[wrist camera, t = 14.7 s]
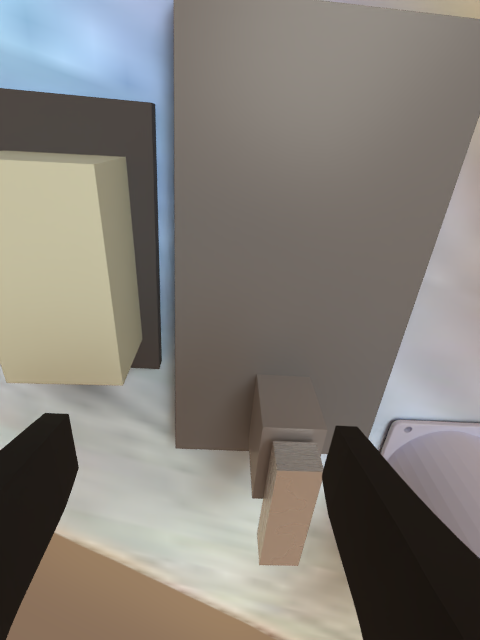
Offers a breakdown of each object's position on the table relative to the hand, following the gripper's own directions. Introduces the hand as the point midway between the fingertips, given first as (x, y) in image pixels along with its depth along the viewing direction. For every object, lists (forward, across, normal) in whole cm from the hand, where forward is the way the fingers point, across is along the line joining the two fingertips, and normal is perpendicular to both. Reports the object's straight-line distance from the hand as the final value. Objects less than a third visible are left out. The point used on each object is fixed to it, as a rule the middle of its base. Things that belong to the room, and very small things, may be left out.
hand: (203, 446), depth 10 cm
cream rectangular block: (+10, +6, -2) cm, 12 cm away
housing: (+10, -4, -1) cm, 11 cm away
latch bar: (+5, -4, +8) cm, 10 cm away
